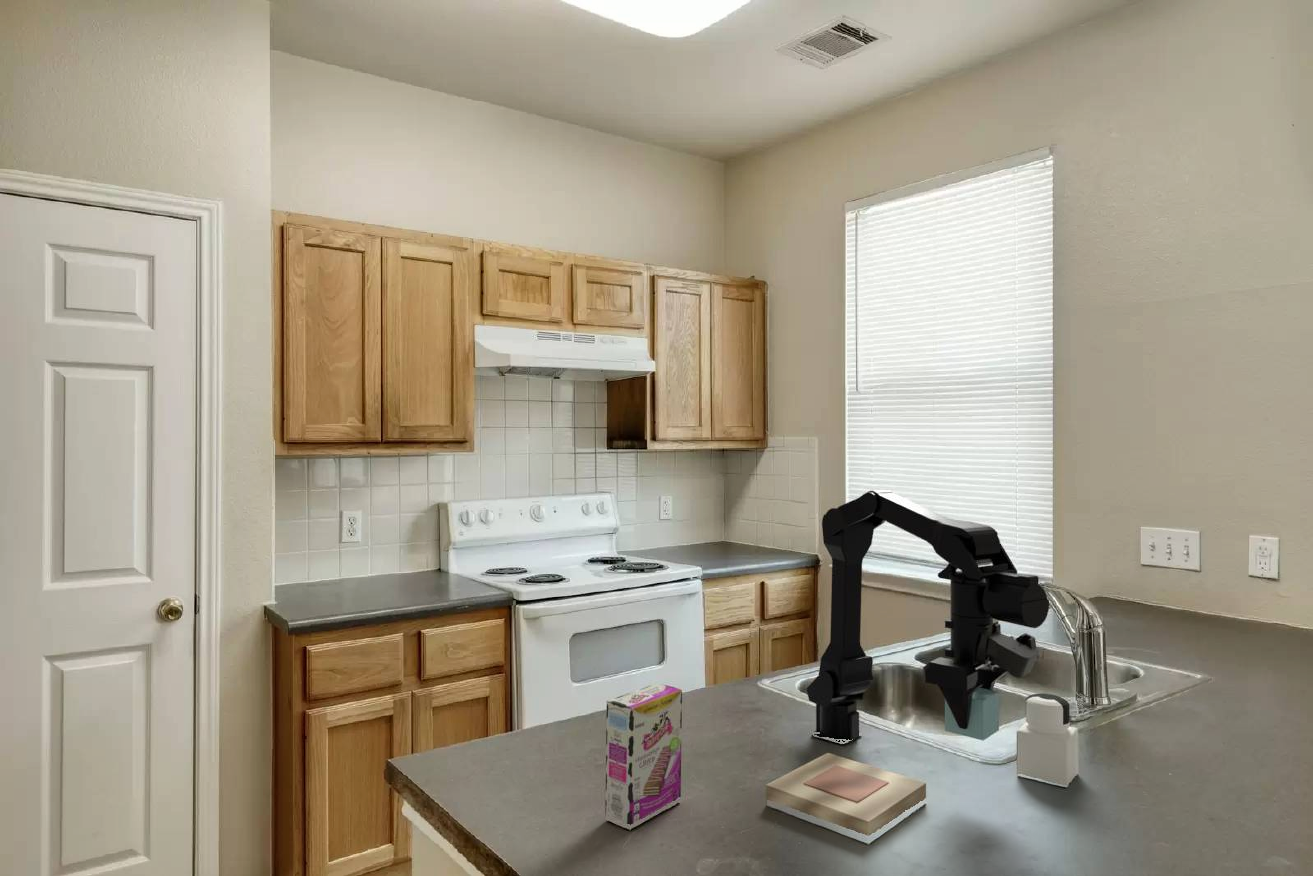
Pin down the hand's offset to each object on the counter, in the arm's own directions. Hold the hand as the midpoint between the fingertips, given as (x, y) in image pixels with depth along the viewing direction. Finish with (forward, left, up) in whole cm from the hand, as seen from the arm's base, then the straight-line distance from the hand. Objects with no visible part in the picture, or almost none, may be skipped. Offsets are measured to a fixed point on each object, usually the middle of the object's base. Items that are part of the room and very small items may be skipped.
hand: (971, 723), depth 117 cm
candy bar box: (-31, -35, -11) cm, 48 cm away
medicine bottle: (+5, +16, -11) cm, 20 cm away
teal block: (0, 0, -1) cm, 1 cm away
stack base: (-12, -14, -11) cm, 21 cm away
